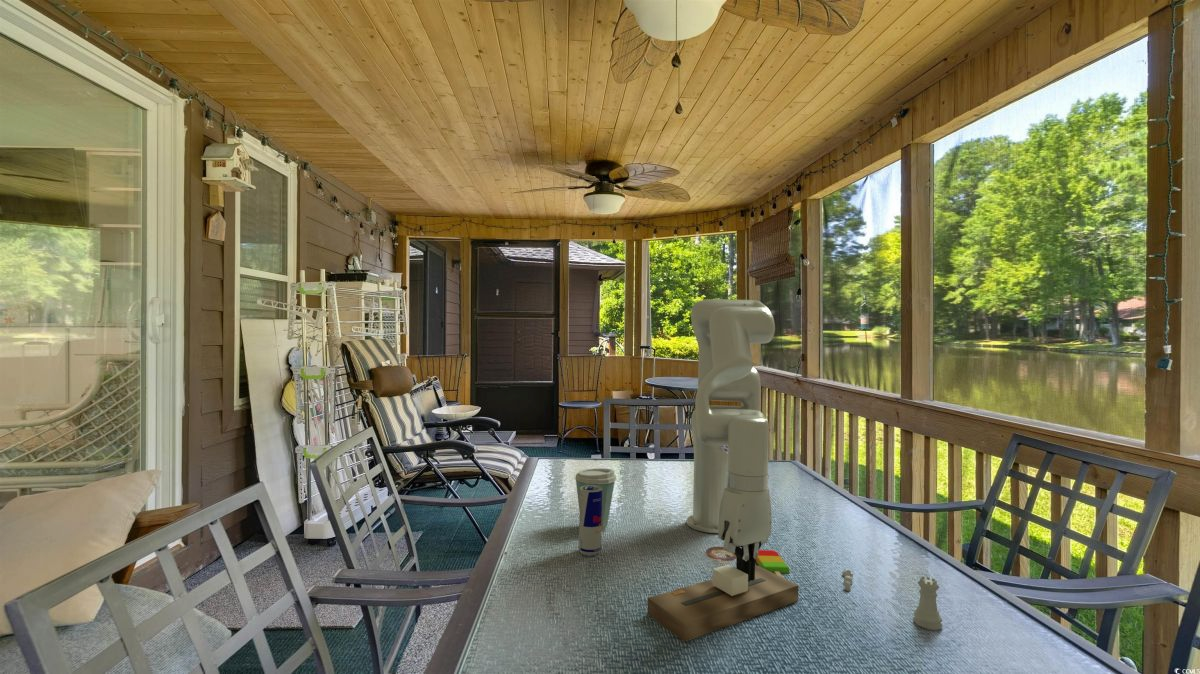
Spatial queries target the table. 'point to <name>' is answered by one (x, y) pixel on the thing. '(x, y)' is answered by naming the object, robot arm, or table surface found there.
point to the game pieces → (847, 579)
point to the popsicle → (771, 562)
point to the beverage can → (590, 519)
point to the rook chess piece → (928, 605)
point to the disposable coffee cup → (604, 480)
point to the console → (719, 604)
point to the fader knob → (730, 580)
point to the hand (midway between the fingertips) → (745, 578)
